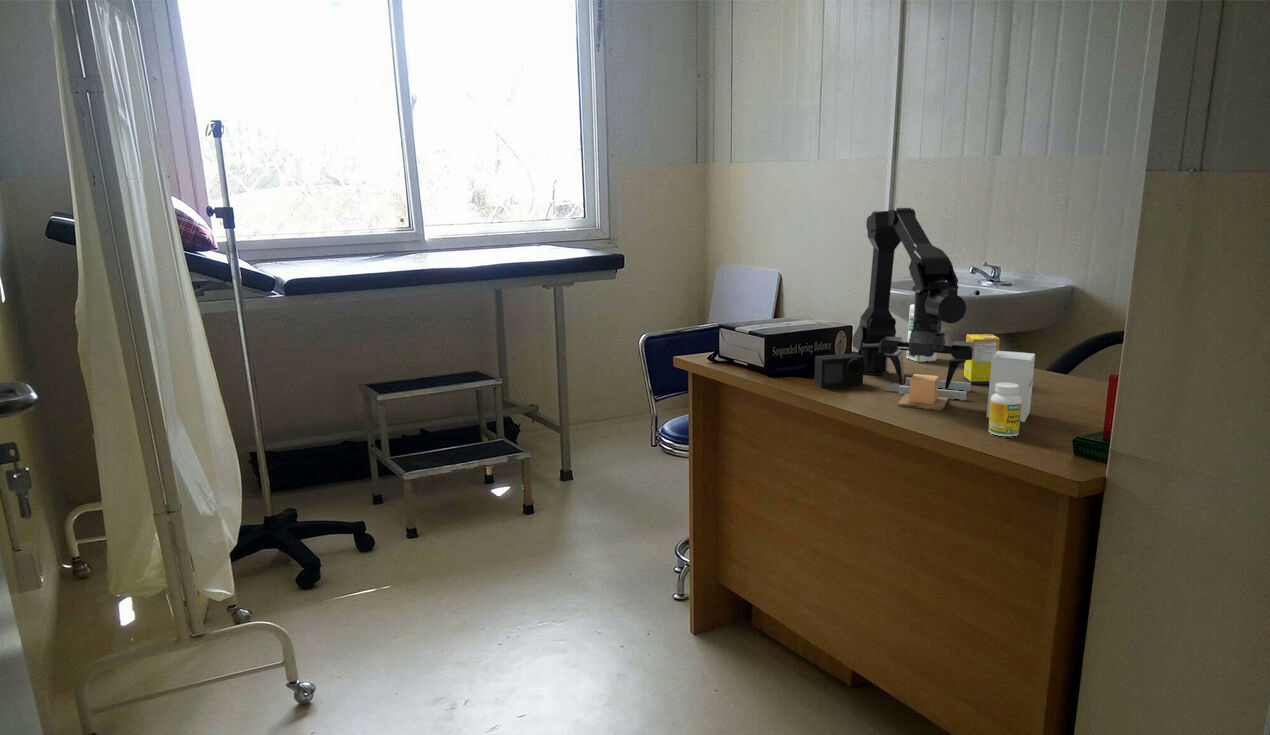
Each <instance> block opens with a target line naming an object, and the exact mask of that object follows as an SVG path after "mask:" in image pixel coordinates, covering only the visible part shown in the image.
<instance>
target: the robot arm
mask: <svg viewBox="0 0 1270 735" xmlns="http://www.w3.org/2000/svg"><path fill="white" fill-rule="evenodd" d="M866 230H867V238H868V240H869V242H870V244H871V245H872V247H873V248H872V249H873V250H872V263H871V273H870V274H871V275H870V284H869V285H870V286H869V295H868V296H869V297H868V307H867V308H866V309H865V310H864V312H863V313H862V314H861V316H860V320H859V325H858V326H857V328H856V330H855V332H854V334H853V336H852V339H851V341H852V347H853V348H855V349H857V350H858V352H857V354H859V355H861V356H863V357H864V365H865V370H864V373H863V375H874V376H883V375H884V374H885V373H886V372H887V371H888V369H889V360H890V361H891V362H892V365H893V366H894V369H895V372H896V375H897V379H898V382H899V383H898V384H900V385H901V386H902V385H903V384H904V378H905V377H904V376H905V374H904V373H905V372H904V368H905V367H904V366H905V364H904V351H906V352H907V351H909V354H910V355H911V356H916V355H919V356H925V357H931V356H933V355H934V353H937V354H947V355H951V358H950V359H949V364H948V369H947V374H946V380H945V381H946V385H945V389H944V390H948V387H949V385H950V382H951V381H953V377H954V375H955V373H956V371H957V368H958V367H959V365H960V364H965V362H966V360H972V358H973V357H974V354H975V345H974V344H973V342H966V341H963V340H962V341H960V340H959V341H958V340H955V341H954V343H952V344H946V334H945V332H943V330H942V329H943V322H944V323H947V324H955V323H957V322H960V321H961V320H962V319H963V317H964V316H965V314H966V313H967V312H966V311H967V305H966V302H965V300H964V299H963V298H962V297H961V296H960V295H958V293H959V292H958V289H959V285H958V283H959V279H958V277H957V275H956V272H955V270H954V267H953V263H952V261H951V260H950V258H949V256H948V255H947V253H945V251H943V249H940V248H939V247H936V246H935V245H933V244H932V243H931V241H930V239H929V238H928V236H927V234H926V233H925V230H924V229H923V227H922V226H921V224H920V222H919V221H918V219H917V216H916V211H915V209H914V208H911V207H894V208H892V209H888V210H883V211H880V210H879V211H875V210H874V211H872V213H871V214H870V215H869V216H867V219H866ZM900 243H902V245H903V247H904V248H905V251H906V252H907V255H908V256H909V259H910V262H909V266H908V269H909V273H910V277H911V278H912V280H913V283H914V285H913V286H912V289H911V290H912V291H913V292H915V293H914V322H913V329H912V332H911V334H910V339H909V342H908V341H903V336H896V334H897V330H896V323H897V321H896V318H895V317H893V314H892V313H891V311H890V302H891V291H892V283H893V282H892V279H893V268H894V262H895V261H894V259H895V250H896V249H897V248H898V246H899V245H900Z"/></svg>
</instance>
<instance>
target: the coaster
mask: <svg viewBox="0 0 1270 735" xmlns="http://www.w3.org/2000/svg"><path fill="white" fill-rule="evenodd" d="M948 400H949V399H948V397H939V396H937V399H936V401H935V403H934V404H925V403H915V402H909V394H908V393H905V394H904V395H903V394H902V396H901V398H900V399H899V401H898V402H897V407H902V406H905V407H904V408H911V407H913V409H921V408H924V410H931V409H933V410H932V411H940V410H942V411H944V408H945V406H946V405H947V403H946V402H948ZM945 404H946V405H945Z"/></svg>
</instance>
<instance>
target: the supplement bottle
mask: <svg viewBox="0 0 1270 735" xmlns="http://www.w3.org/2000/svg"><path fill="white" fill-rule="evenodd" d="M995 391H996V392H997V393H995V394H993V395H992V396H991V401H990V416H989V418H988V433H989V432H990V433H991V434H990V433H989V434H990V435H992V434H994V435H998V436H1016V437H1018V436H1019V433H1020V425H1021V422H1020V417H1021V405H1022V399H1021V397H1020V396H1018V395H1017V393H1018V392H1019V385H1018V384H1015V383H1009V382H1000V383H996V386H995ZM994 435H993V436H994ZM1017 435H1018V436H1017ZM998 436H997V437H998Z"/></svg>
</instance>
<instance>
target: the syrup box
mask: <svg viewBox="0 0 1270 735" xmlns="http://www.w3.org/2000/svg"><path fill="white" fill-rule="evenodd" d="M914 304H915V303H914ZM914 304H910V305H909V314H908V315H909V317H908V331H907V342H909V339H910V334H911V332H912V329H913V322H914ZM937 356H938V353H934V355H933V356H931V357H925V356H919V355H916V356H911V355H910V354H909V351H906V359H908V358H909V360H910V361H911V360H912V361H914V362H917V363H925V362H926V361H928V362H936V361H937V358H938V357H937Z"/></svg>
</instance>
